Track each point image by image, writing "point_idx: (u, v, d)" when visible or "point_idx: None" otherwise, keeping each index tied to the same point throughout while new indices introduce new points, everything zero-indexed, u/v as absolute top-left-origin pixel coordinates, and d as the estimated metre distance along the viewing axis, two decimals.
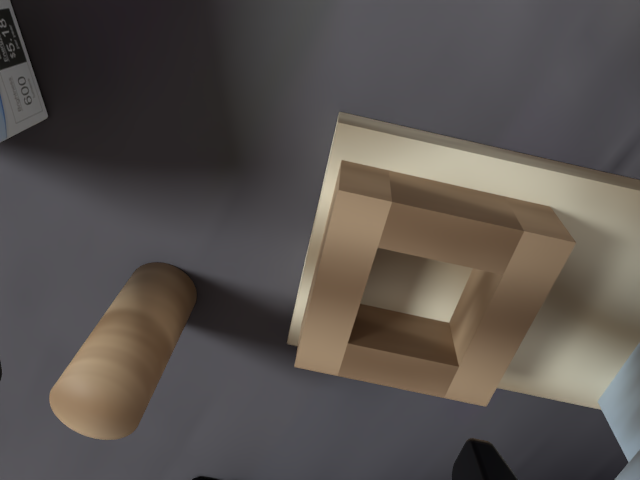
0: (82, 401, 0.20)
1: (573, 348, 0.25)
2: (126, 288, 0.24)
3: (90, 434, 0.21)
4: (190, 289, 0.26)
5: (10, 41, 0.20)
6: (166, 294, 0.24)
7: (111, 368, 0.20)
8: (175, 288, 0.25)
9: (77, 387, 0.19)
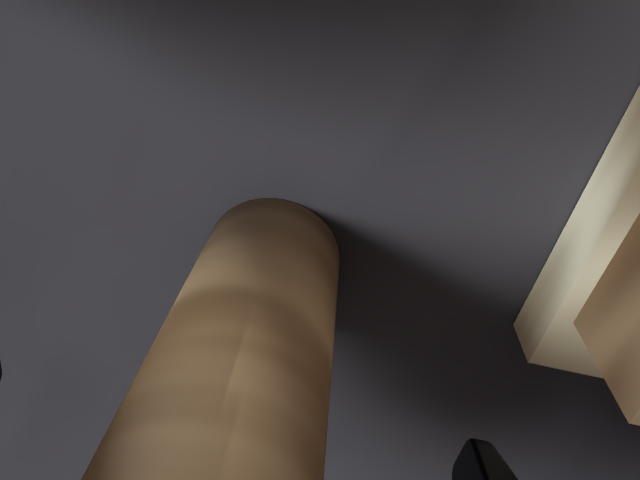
0: None
1: None
2: (218, 245, 0.11)
3: None
4: (335, 253, 0.13)
5: None
6: (306, 259, 0.11)
7: (239, 454, 0.07)
8: (317, 247, 0.12)
9: None
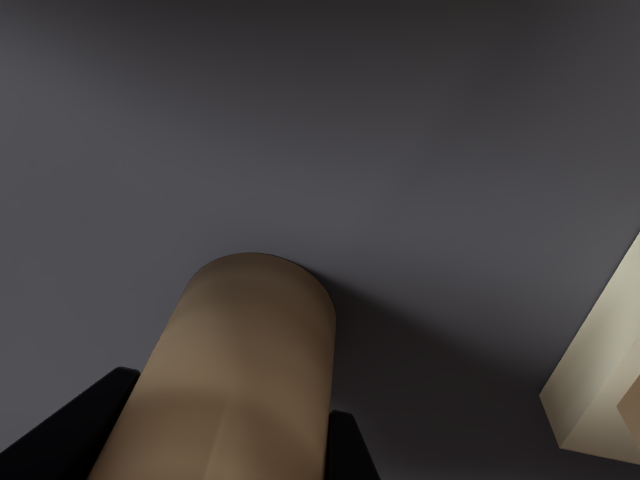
0: None
1: None
2: (186, 320, 0.09)
3: None
4: (330, 317, 0.11)
5: None
6: (294, 338, 0.09)
7: None
8: (308, 318, 0.10)
9: None
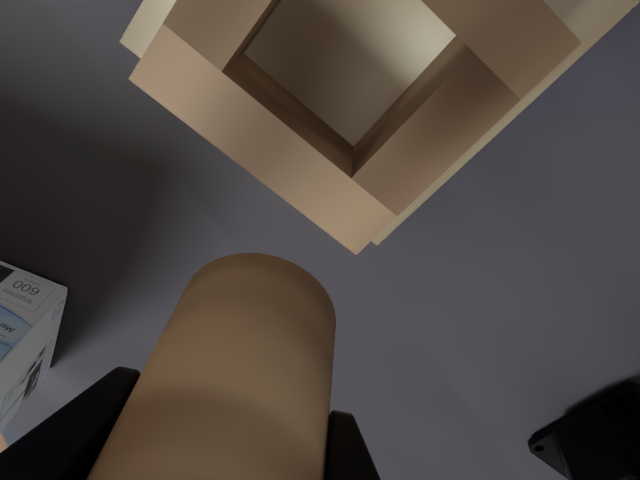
0: None
1: None
2: (185, 320, 0.09)
3: None
4: (330, 317, 0.11)
5: None
6: (293, 338, 0.09)
7: None
8: (307, 318, 0.10)
9: None
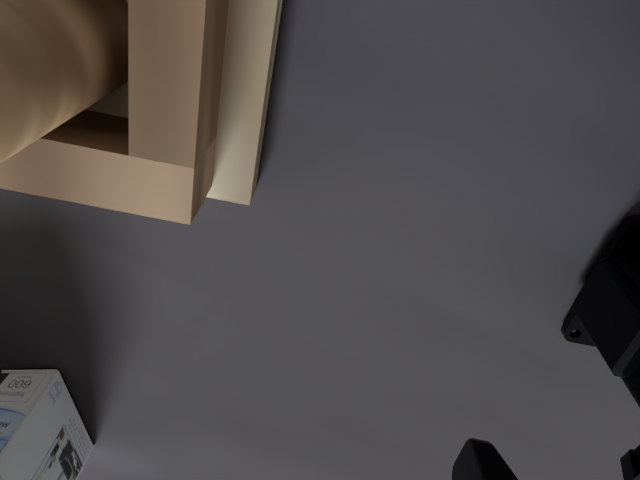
0: None
1: None
2: None
3: None
4: None
5: None
6: None
7: None
8: None
9: None
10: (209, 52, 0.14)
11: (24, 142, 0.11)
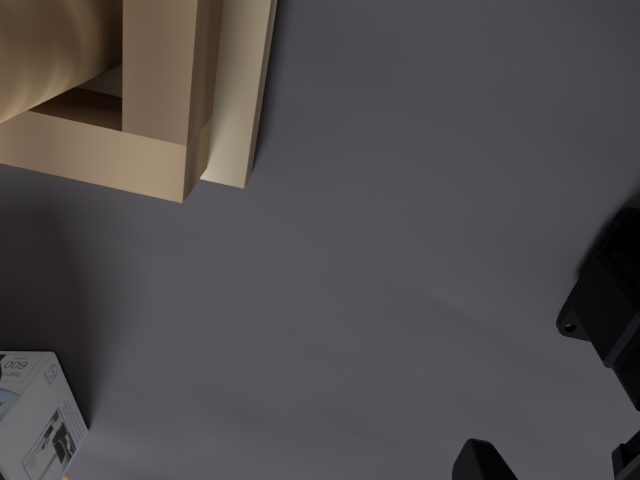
0: None
1: None
2: None
3: None
4: None
5: None
6: None
7: None
8: None
9: None
10: (203, 30, 0.15)
11: (14, 107, 0.11)
